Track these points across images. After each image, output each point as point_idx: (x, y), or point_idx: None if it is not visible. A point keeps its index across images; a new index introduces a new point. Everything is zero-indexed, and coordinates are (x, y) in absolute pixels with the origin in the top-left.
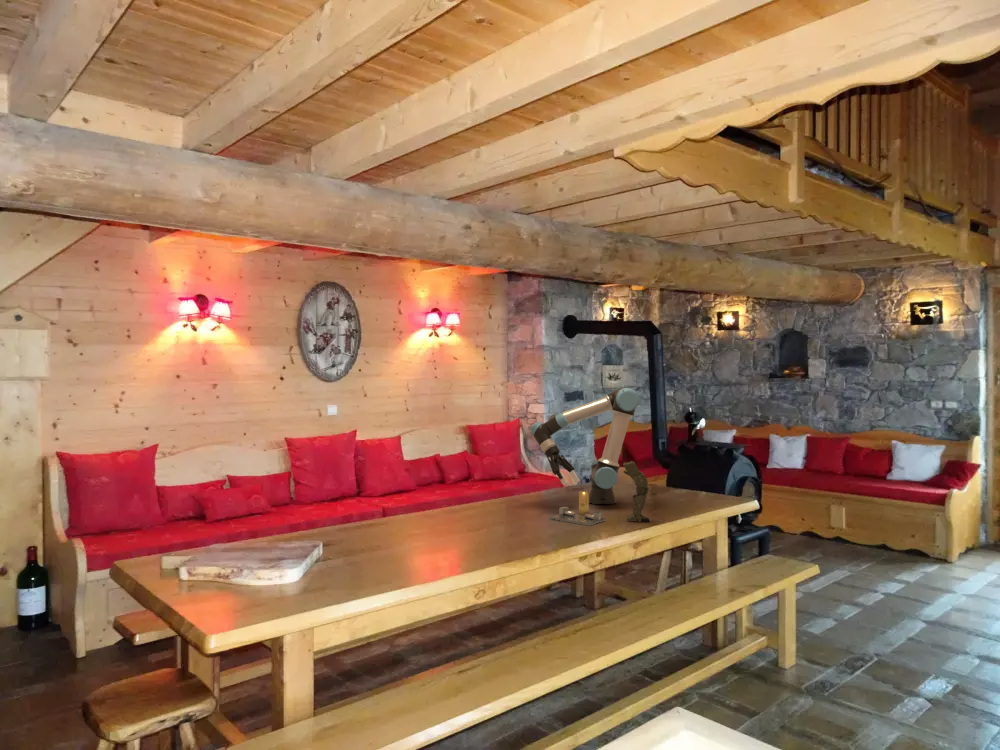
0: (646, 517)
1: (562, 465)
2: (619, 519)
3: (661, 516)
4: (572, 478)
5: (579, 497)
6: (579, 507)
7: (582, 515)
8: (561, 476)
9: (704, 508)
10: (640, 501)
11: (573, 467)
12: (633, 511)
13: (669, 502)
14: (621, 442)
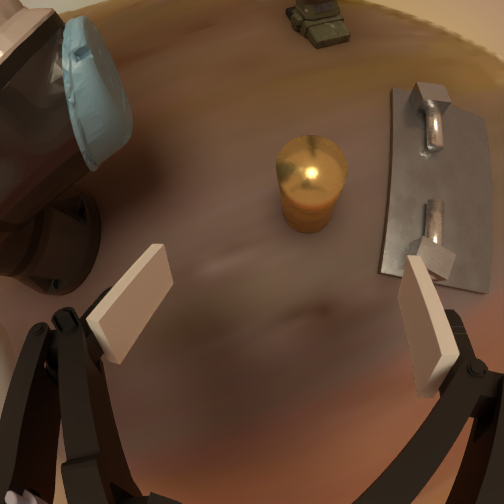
0: (288, 10)
1: (124, 465)
2: (331, 64)
3: (214, 10)
4: (150, 316)
5: (335, 200)
6: (329, 217)
7: (398, 177)
8: (454, 320)
9: (90, 15)
10: None
11: (32, 333)
12: (332, 9)
13: None
14: None
